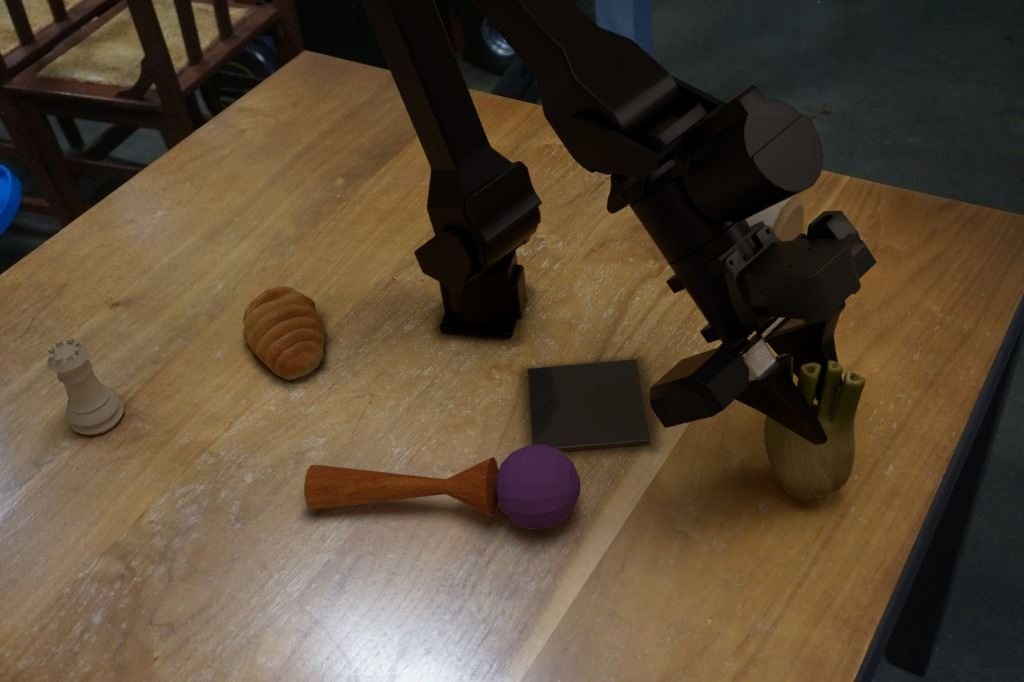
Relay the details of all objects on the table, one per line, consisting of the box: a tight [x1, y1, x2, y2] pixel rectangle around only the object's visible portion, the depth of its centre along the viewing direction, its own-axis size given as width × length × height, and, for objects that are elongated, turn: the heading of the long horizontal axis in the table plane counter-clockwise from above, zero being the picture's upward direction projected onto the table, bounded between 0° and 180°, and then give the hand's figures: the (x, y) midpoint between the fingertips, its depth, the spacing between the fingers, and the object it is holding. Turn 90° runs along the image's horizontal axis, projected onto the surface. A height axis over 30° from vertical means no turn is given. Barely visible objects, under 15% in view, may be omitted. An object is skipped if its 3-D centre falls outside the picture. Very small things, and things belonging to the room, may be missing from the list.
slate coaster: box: [527, 358, 651, 453], centre depth 87 cm, size 9×9×1 cm
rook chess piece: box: [46, 337, 125, 436], centre depth 89 cm, size 4×4×8 cm
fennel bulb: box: [763, 354, 866, 502], centre depth 75 cm, size 6×5×12 cm
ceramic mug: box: [745, 195, 805, 241], centre depth 98 cm, size 11×8×8 cm
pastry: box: [242, 285, 326, 381], centre depth 95 cm, size 9×7×4 cm
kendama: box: [303, 444, 581, 530], centre depth 80 cm, size 6×6×20 cm
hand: (833, 430), depth 74 cm, fingers closed on fennel bulb, 2 cm apart
